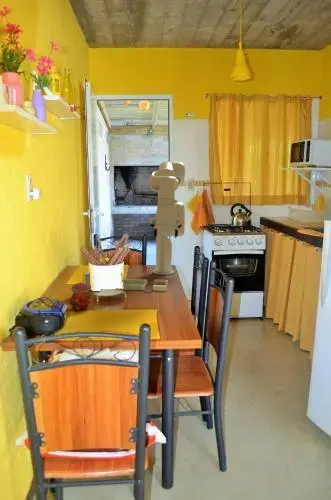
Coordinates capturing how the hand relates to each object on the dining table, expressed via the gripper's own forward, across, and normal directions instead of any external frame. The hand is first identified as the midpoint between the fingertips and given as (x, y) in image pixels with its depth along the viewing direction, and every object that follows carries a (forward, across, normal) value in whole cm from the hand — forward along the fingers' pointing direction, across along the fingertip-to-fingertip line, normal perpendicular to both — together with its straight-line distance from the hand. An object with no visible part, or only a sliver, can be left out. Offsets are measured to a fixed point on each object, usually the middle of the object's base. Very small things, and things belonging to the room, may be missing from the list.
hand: (165, 237), depth 206 cm
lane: (+27, +12, -6) cm, 30 cm away
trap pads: (+27, +8, -7) cm, 29 cm away
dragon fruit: (+28, +33, +35) cm, 56 cm away
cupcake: (+28, +38, +18) cm, 50 cm away
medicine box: (+28, +35, +4) cm, 45 cm away
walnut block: (+27, +3, -7) cm, 28 cm away
